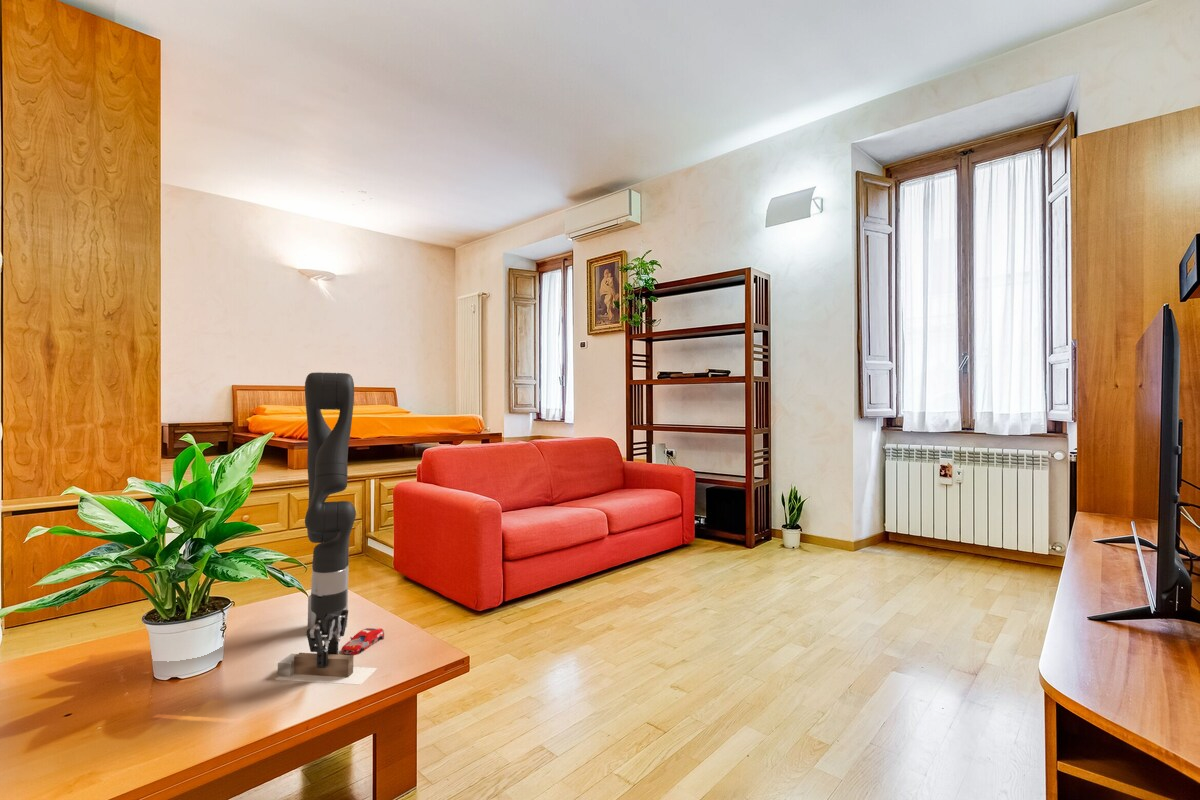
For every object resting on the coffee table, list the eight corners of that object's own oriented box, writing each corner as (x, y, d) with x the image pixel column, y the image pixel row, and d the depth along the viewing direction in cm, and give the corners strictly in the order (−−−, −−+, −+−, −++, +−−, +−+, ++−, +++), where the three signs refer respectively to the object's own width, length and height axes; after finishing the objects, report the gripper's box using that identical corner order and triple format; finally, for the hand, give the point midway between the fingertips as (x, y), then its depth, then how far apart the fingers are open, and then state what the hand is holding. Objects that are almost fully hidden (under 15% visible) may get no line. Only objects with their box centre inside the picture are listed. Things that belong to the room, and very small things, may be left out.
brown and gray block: (277, 676, 131) (277, 658, 131) (290, 666, 136) (291, 649, 136) (345, 680, 130) (345, 662, 130) (356, 670, 135) (356, 652, 135)
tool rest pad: (274, 682, 129) (274, 679, 129) (296, 666, 137) (296, 663, 137) (360, 687, 128) (360, 684, 128) (377, 670, 136) (377, 668, 136)
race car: (355, 660, 142) (355, 644, 142) (336, 657, 143) (337, 641, 143) (388, 639, 155) (388, 624, 155) (370, 637, 156) (370, 622, 156)
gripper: (330, 578, 140) (328, 649, 140) (295, 597, 126) (293, 676, 126) (360, 579, 140) (358, 650, 139) (327, 599, 125) (326, 678, 125)
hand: (327, 662), depth 133 cm, fingers open, 4 cm apart
